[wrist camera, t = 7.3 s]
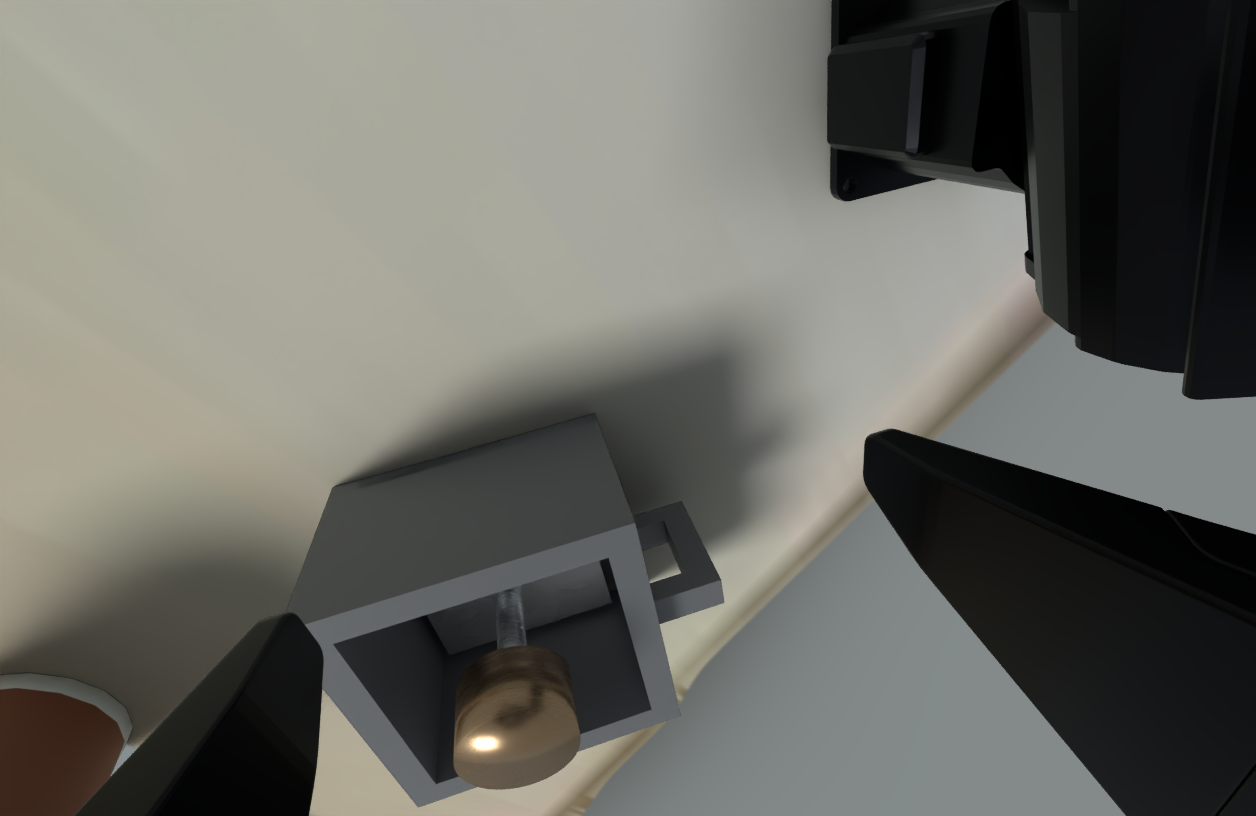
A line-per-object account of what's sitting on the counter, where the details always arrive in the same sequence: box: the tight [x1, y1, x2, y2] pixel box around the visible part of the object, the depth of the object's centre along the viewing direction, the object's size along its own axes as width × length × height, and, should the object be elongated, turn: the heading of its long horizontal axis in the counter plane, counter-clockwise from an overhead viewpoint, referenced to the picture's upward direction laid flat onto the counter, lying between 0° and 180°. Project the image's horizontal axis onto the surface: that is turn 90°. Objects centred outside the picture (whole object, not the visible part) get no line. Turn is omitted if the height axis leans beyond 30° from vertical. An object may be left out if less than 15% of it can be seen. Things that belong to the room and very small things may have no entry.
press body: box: [286, 414, 724, 807], centre depth 21 cm, size 12×10×6 cm
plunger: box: [427, 561, 612, 789], centre depth 19 cm, size 7×7×8 cm
